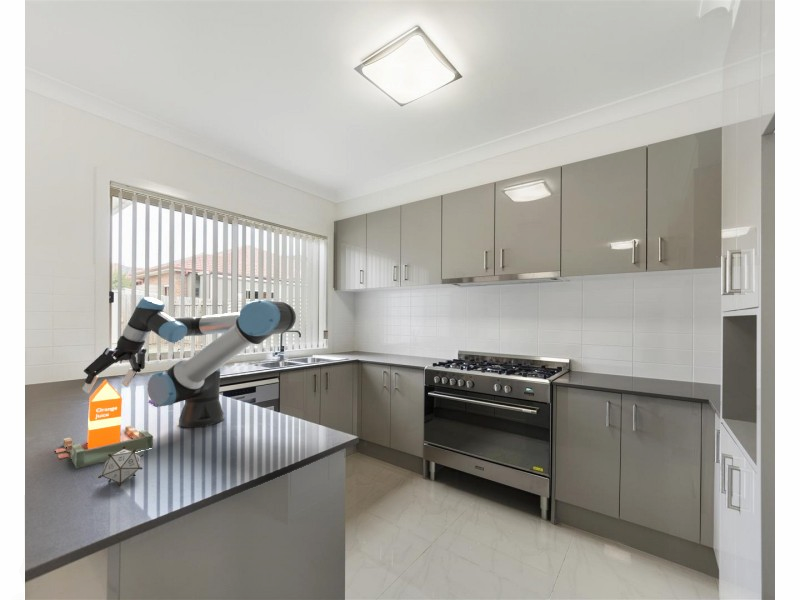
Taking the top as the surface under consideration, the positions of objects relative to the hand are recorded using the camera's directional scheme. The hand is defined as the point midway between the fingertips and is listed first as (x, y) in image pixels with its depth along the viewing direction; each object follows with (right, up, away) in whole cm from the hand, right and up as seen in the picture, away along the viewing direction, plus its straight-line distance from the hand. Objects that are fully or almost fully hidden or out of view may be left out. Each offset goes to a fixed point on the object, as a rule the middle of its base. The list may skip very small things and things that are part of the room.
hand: (106, 387), depth 122 cm
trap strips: (+7, -14, -22) cm, 27 cm away
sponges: (-6, -18, +37) cm, 41 cm away
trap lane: (+16, -14, -17) cm, 27 cm away
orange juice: (+11, -15, -14) cm, 23 cm away
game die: (+38, -13, -39) cm, 56 cm away
